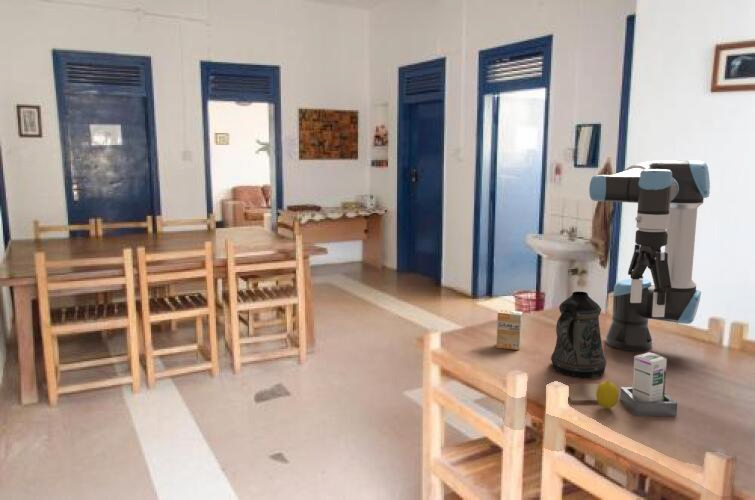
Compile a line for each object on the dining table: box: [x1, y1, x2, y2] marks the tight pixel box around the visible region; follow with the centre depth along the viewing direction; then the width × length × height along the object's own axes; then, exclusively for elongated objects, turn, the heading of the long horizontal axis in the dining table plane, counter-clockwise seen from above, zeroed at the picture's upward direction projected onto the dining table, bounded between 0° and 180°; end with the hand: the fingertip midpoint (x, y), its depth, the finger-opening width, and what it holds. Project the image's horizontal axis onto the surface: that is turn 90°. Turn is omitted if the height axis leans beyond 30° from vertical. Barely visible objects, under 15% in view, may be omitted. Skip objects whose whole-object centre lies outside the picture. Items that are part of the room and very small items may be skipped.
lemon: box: [596, 380, 620, 410], centre depth 152 cm, size 6×6×8 cm
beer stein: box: [550, 291, 607, 380], centre depth 177 cm, size 16×19×25 cm
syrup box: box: [632, 351, 668, 402], centre depth 152 cm, size 6×6×14 cm
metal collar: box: [619, 386, 678, 417], centre depth 153 cm, size 10×10×4 cm
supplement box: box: [495, 309, 524, 351], centre depth 200 cm, size 8×5×13 cm, turn 68°
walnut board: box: [565, 383, 600, 405], centre depth 162 cm, size 11×11×1 cm
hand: (646, 309), depth 150 cm, fingers open, 13 cm apart
